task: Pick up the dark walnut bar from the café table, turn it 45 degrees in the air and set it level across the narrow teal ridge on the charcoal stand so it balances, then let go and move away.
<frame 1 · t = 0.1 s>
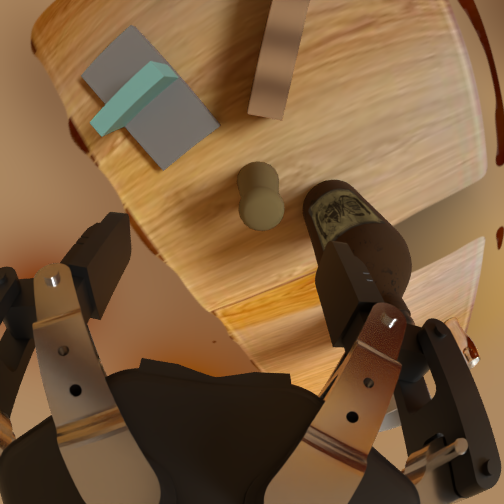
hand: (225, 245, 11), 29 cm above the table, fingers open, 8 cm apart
cylinder vase: (363, 315, 56), on the table
olive oil: (331, 206, 42), on the table
beer glass: (448, 324, 62), on the table
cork: (257, 181, 40), on the table
walnut bar: (276, 45, 29), on the table
balance stand: (148, 95, 31), on the table
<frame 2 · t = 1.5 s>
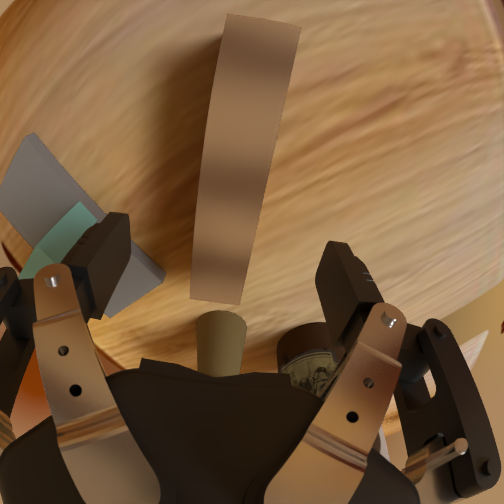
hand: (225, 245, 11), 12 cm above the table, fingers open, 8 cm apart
olive oil: (311, 342, 35), on the table
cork: (221, 326, 32), on the table
walnut bar: (235, 156, 21), on the table
balance stand: (71, 231, 24), on the table
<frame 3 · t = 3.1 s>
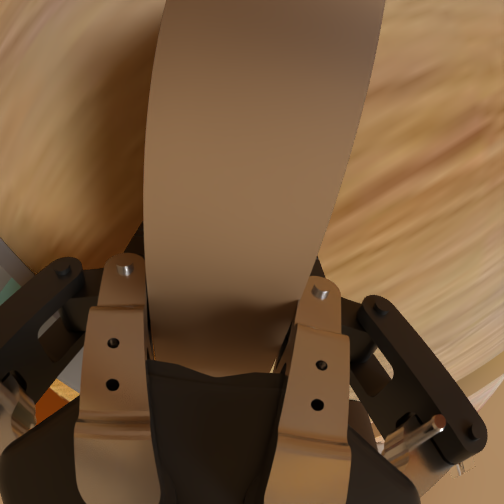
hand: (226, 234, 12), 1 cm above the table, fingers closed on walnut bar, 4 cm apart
olive oil: (325, 415, 26), on the table
beer glass: (450, 427, 46), on the table
walnut bar: (228, 221, 13), on the table, touching gripper
balance stand: (18, 303, 16), on the table
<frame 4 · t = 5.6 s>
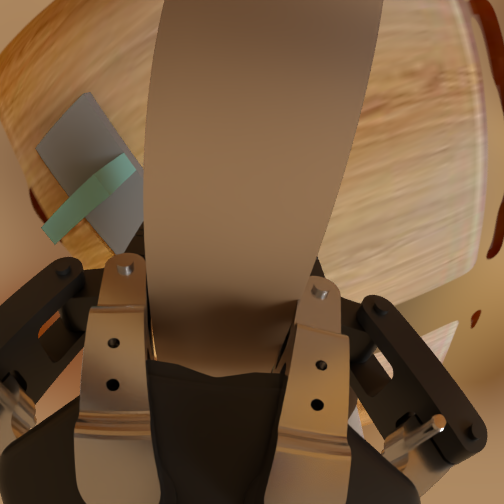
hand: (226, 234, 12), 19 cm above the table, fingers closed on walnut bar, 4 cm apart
walnut bar: (229, 221, 13), point 18 cm above the table, touching gripper
balance stand: (105, 180, 29), on the table
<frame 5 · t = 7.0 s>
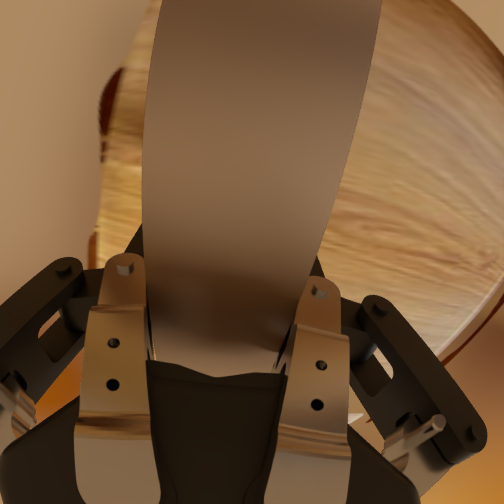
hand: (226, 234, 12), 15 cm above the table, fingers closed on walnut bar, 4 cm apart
walnut bar: (228, 222, 13), point 14 cm above the table, touching gripper
when the fingers open (10 cm above the table, at t = 8.3 s): walnut bar stays where it is, resting on balance stand.
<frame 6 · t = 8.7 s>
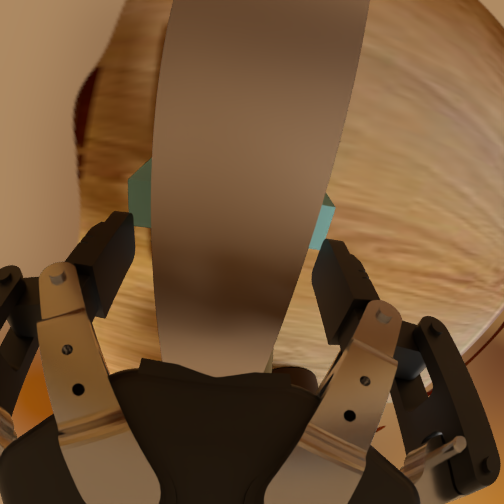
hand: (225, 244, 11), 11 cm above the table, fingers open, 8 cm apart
olive oil: (285, 381, 38), on the table
walnut bar: (229, 215, 13), point 8 cm above the table, touching balance stand
balance stand: (234, 164, 20), on the table
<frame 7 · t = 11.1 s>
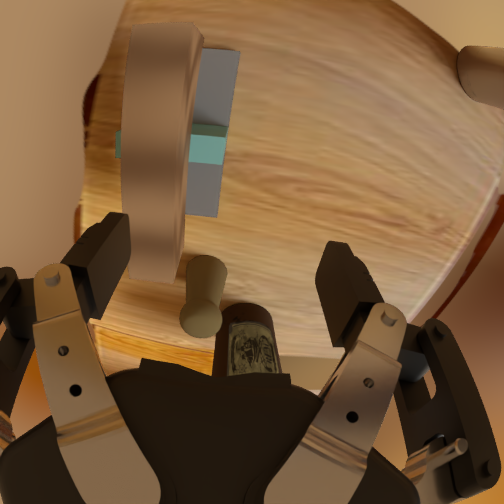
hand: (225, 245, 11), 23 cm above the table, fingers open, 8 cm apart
olive oil: (245, 321, 47), on the table
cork: (206, 271, 41), on the table
walnut bar: (167, 147, 22), point 8 cm above the table, touching balance stand
balance stand: (184, 131, 29), on the table
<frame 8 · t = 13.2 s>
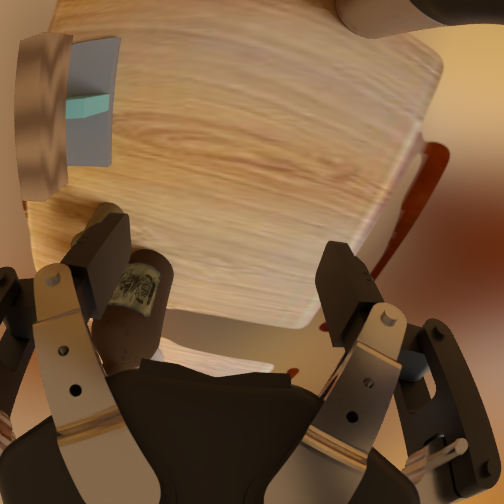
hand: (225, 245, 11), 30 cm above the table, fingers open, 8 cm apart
olive oil: (150, 269, 49), on the table
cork: (110, 218, 43), on the table
walnut bar: (54, 111, 25), point 8 cm above the table, touching balance stand
balance stand: (85, 102, 32), on the table
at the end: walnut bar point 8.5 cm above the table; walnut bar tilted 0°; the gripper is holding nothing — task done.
